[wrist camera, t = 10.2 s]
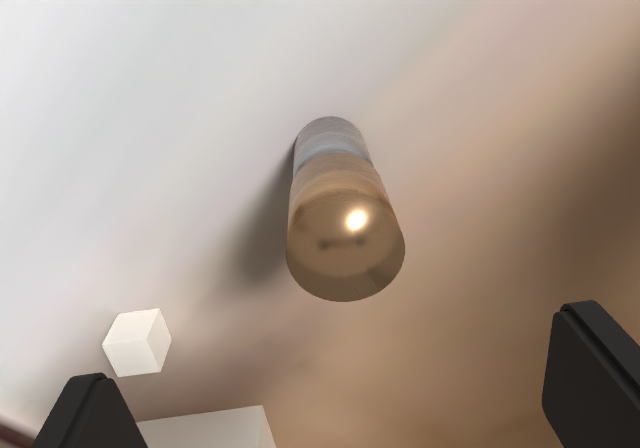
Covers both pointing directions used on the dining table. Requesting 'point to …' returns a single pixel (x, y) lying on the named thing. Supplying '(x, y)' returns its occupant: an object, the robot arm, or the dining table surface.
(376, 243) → the peg
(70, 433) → the robot arm
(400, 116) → the dining table surface
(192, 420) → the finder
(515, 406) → the dining table surface
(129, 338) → the rounded white cube
